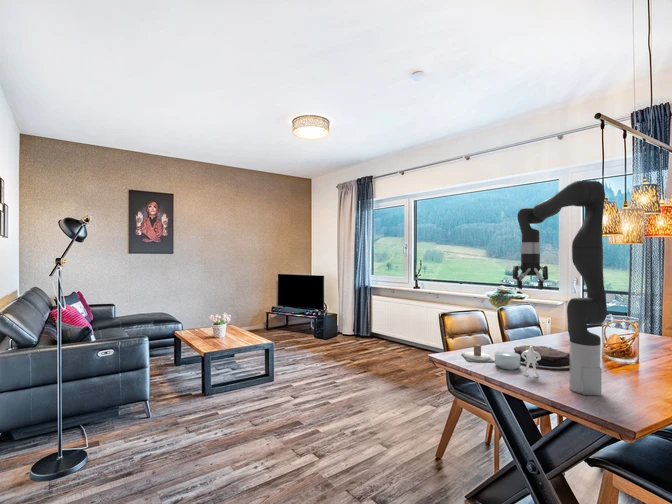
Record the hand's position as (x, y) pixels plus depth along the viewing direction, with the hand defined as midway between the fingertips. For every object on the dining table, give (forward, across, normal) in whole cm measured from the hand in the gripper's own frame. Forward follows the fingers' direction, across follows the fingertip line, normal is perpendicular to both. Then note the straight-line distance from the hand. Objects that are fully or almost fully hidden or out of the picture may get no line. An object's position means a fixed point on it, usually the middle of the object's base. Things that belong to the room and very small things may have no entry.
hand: (530, 289), depth 165 cm
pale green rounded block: (+33, -12, -6) cm, 36 cm away
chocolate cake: (+34, +7, +5) cm, 35 cm away
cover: (+32, -21, +6) cm, 39 cm away
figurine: (+33, -7, -17) cm, 38 cm away
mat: (+33, -21, +6) cm, 40 cm away
